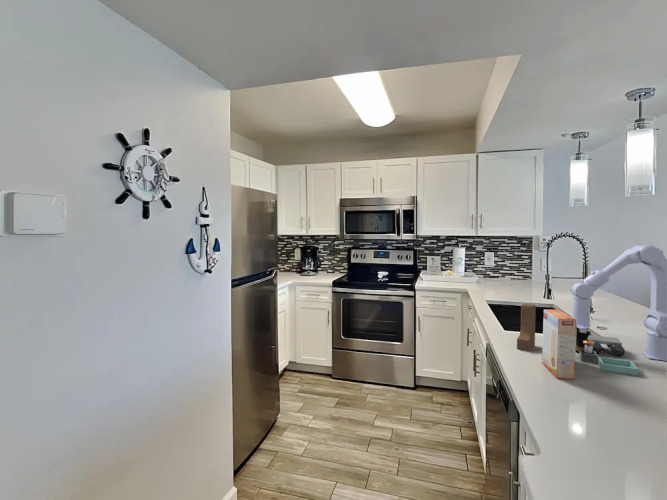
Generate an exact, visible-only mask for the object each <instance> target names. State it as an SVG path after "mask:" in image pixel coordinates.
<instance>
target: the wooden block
mask: <svg viewBox="0 0 667 500" xmlns="http://www.w3.org/2000/svg"><path fill="white" fill-rule="evenodd" d="M535 346H536V304H532V303H523V304H521V305H520V332H519V336H518V337H517V338H516V349H518V350H521V351H526V352H527V351H530V350H531V349H532V348H534V347H535Z"/></svg>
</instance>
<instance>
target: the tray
mask: <svg viewBox="0 0 667 500" xmlns="http://www.w3.org/2000/svg"><path fill="white" fill-rule="evenodd" d="M597 365H598V367H599V369H600V371H601V372H606V373H612V374H620V375H627V376H628V375H629V376H634V377H638V376H639V368H638V367H637V366H636V365H635V363H634V362H633V361H632V360H628V359H627V360H626V359H621V358H620V359H619V358H612V357H605V356H598V363H597Z"/></svg>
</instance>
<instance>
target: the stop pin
mask: <svg viewBox="0 0 667 500" xmlns="http://www.w3.org/2000/svg"><path fill="white" fill-rule="evenodd" d="M583 343H584V344H585V353H587V354H592V350H593V345H595V342H594V341H591V340H583Z"/></svg>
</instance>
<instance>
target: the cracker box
mask: <svg viewBox="0 0 667 500" xmlns="http://www.w3.org/2000/svg"><path fill="white" fill-rule="evenodd" d="M542 317H543V322H542V325H543V326H542V354H541V357H542V359H541V360H542V361H541V363H542V364H543V365H544V366H545V367H546V368H547V369H548V371H550V373H551V374H552V376H554V377H555V378H556V379H567V380H575V378H576V377H575V373H576V370H575V369H576V352H575V350H576V322H577V320H576V319H574V318H573V316H571V315H569V314H567V313H565V312H564V311H563V310H560V309H543V316H542Z"/></svg>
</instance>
